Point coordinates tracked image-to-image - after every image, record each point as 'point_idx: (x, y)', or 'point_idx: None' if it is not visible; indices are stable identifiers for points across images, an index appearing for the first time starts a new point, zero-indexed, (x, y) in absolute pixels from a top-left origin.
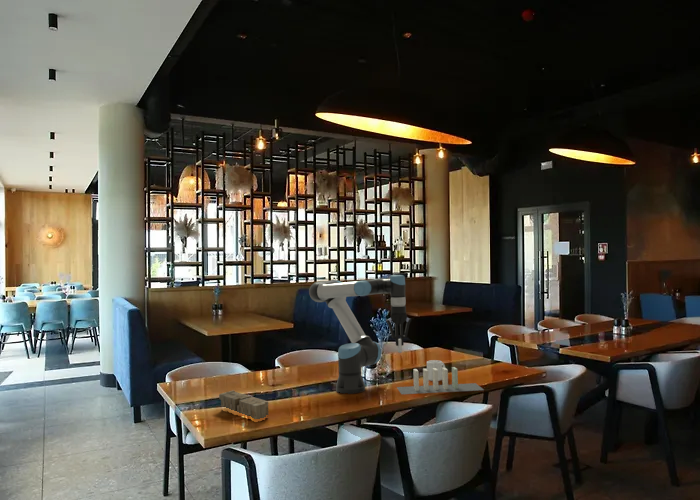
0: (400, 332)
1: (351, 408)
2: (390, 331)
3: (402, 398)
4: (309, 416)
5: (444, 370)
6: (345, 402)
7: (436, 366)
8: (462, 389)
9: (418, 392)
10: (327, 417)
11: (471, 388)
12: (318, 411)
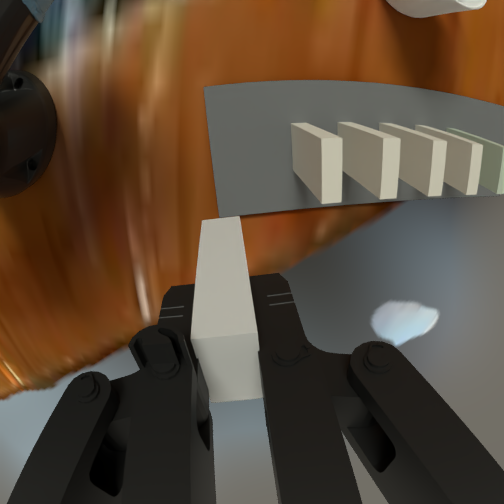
0: (277, 491)
1: (73, 339)
2: (32, 496)
3: None
4: (19, 369)
5: (464, 192)
6: (36, 288)
7: (455, 8)
8: None
9: (300, 194)
10: (53, 381)
11: None
12: (16, 346)
